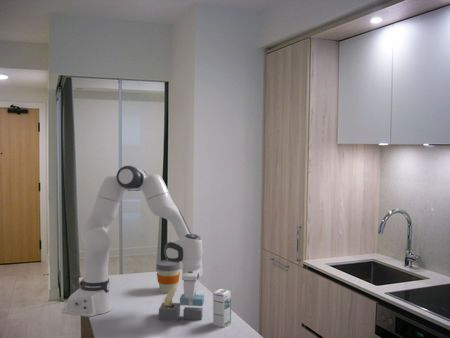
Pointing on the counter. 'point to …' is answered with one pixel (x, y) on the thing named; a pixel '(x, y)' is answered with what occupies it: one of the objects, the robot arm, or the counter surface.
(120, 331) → the counter surface
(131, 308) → the counter surface
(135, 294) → the counter surface
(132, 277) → the counter surface
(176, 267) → the reusable coffee cup
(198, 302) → the cover
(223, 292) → the syrup box
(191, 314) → the block
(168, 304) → the T-key
